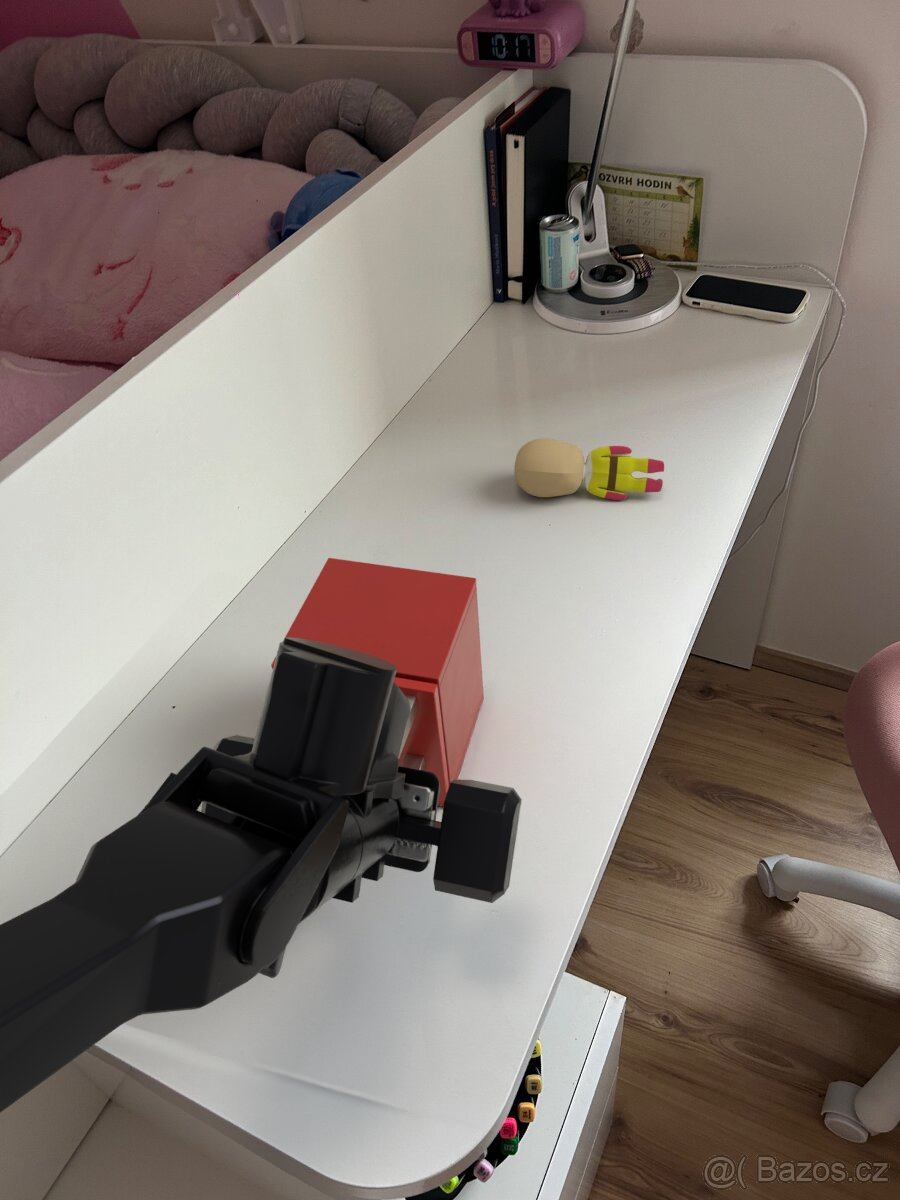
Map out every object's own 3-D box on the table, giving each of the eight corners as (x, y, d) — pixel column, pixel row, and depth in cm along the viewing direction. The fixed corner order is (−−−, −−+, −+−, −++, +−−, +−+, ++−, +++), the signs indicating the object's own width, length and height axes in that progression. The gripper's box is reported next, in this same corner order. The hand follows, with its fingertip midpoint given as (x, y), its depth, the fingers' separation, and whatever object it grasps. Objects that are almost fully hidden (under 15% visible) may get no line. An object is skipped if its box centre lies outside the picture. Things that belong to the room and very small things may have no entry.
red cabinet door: (428, 869, 66) (410, 756, 56) (278, 836, 68) (238, 724, 59) (451, 799, 70) (437, 683, 60) (308, 770, 72) (275, 656, 63)
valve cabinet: (452, 797, 70) (438, 679, 61) (310, 769, 73) (276, 652, 63) (484, 697, 77) (476, 577, 67) (353, 675, 80) (328, 557, 70)
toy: (665, 443, 95) (521, 433, 98) (667, 450, 88) (512, 439, 91) (659, 501, 97) (517, 489, 99) (660, 512, 90) (508, 499, 92)
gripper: (510, 718, 45) (551, 694, 60) (168, 658, 49) (287, 650, 64) (477, 944, 45) (527, 863, 60) (139, 865, 49) (265, 808, 65)
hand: (398, 789), depth 62 cm, fingers closed on red cabinet door
